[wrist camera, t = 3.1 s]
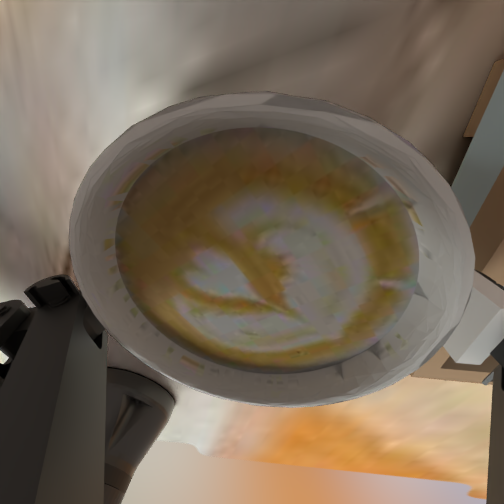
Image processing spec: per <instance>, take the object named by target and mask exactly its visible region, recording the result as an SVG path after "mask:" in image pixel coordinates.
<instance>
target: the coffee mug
mask: <svg viewBox="0 0 504 504" xmlns="http://www.w3.org/2000/svg"><path fill="white" fill-rule="evenodd" d="M69 249H70V255H71V260H72V265H73V271H74V274H75V277H76V279H77V282H78V285H79V287H80V290H81V292H82V295H83V297H84V299H85V300H86V302H87V303H88V305H89V307H90V308H91V310H92V312H93V313H94V315H95V316H96V318H97V319H98V320H99V321H100V323H101V324H102V325H103V326H104V328H105V329H106V330H107V331H108V333H109V334H110V335H111V336H112V337H113V338H114V339H115V340H116V341H117V342H118V343H119V344H120V345H121V346H123V347H124V348H125V349H126V350H128V351H129V352H130V353H131V354H133V355H134V356H135V357H137V358H138V359H139V360H140V361H142V362H143V363H144V364H146V365H147V366H149V367H150V368H152V369H154V370H155V371H157V372H159V373H160V374H162V375H164V376H166V377H167V378H169V379H171V380H173V381H175V382H178V383H180V384H182V385H185V386H187V387H189V388H191V389H194V390H196V391H199V392H202V393H205V394H208V395H211V396H214V397H218V398H221V399H226V400H231V401H235V402H240V403H245V404H250V405H256V406H270V407H290V408H294V407H313V406H321V405H328V404H334V403H339V402H343V401H348V400H352V399H356V398H359V397H362V396H365V395H368V394H371V393H373V392H376V391H379V390H381V389H383V388H386V387H388V386H390V385H393V384H394V383H396V382H398V381H399V380H401V379H403V378H404V377H406V376H408V375H409V374H411V373H413V372H414V371H416V370H418V369H419V368H420V367H421V366H423V365H424V364H425V363H426V362H427V361H429V360H430V359H431V358H432V357H433V356H434V355H435V354H436V352H437V351H438V350H439V349H440V348H441V347H442V346H443V345H444V344H445V343H446V341H447V340H448V339H449V337H450V336H451V334H452V333H453V331H454V330H455V329H456V327H457V326H458V324H459V323H460V321H461V318H462V316H463V314H464V311H465V309H466V307H467V305H468V302H469V300H470V295H471V291H472V287H473V279H474V268H475V253H474V248H473V243H472V238H471V233H470V228H469V226H468V223H467V220H466V217H465V214H464V211H463V209H462V206H461V203H460V202H459V200H458V198H457V197H456V195H455V193H454V192H453V190H452V188H451V187H450V185H449V184H448V183H447V181H446V180H445V179H444V178H443V177H442V175H441V174H440V173H439V172H438V170H437V169H436V168H435V167H434V166H433V164H432V163H431V162H430V161H429V160H428V159H427V158H426V157H425V156H423V155H422V154H421V153H420V152H419V151H418V150H417V149H416V148H415V147H414V146H413V145H412V144H411V143H410V142H409V141H407V140H405V139H404V138H402V137H400V136H399V135H397V134H396V133H394V132H392V131H391V130H389V129H387V128H386V127H384V126H383V125H381V124H379V123H378V122H376V121H374V120H373V119H371V118H370V117H367V116H364V115H362V114H359V113H357V112H354V111H352V110H349V109H346V108H344V107H341V106H339V105H336V104H334V103H331V102H328V101H326V100H319V99H312V98H305V97H298V96H292V95H286V94H280V93H275V92H269V91H262V92H240V93H231V94H222V95H213V96H204V97H198V98H195V99H192V100H188V101H185V102H182V103H179V104H176V105H172V106H169V107H167V108H165V109H163V110H161V111H159V112H158V113H156V114H154V115H152V116H150V117H148V118H146V119H144V120H142V121H140V122H138V123H136V124H134V125H132V126H131V127H130V128H129V129H127V130H126V131H125V132H124V133H123V134H122V135H121V136H120V137H118V138H117V139H116V140H115V141H114V142H113V143H112V144H111V145H109V146H108V147H107V148H106V149H105V150H104V151H103V152H102V153H101V155H100V156H99V157H98V158H97V159H96V160H95V162H94V163H93V164H92V165H91V166H90V168H89V170H88V172H87V174H86V175H85V177H84V179H83V181H82V183H81V185H80V187H79V189H78V191H77V194H76V196H75V198H74V203H73V208H72V213H71V218H70V226H69Z"/></svg>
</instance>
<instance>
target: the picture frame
mask: <svg viewBox="0 0 504 504" xmlns="http://www.w3.org/2000/svg"><path fill="white" fill-rule="evenodd" d="M463 137H473V139H472V142H471V144H470V146H469V148H468V151H467V153H466V155H465V157H464V159H463V162H462V164H461V166H460V168H459V171H458V173H457V175H456V177H455V180H454V182H453V184H452V186H451V188H452V190H453V192H454V193H455V195H456V197H457V198H458V200H459V202H460V203H461V206H462V209H463V211H464V214H465V217H466V220H467V223H468V226H469V228H470V233H471V238H472V243H473V248H474V253H475V268H474V269H475V270H477V271H479V272H482V273H484V274H485V275H487V276H488V277H490V278H491V279H493V280H494V281H496V283H497V284H500V285H502V286H503V287H504V59H501V60H499V61H496V62H494V64H493V67H492V69H491V71H490V74H489V76H488V78H487V81H486V83H485V86H484V88H483V90H482V93H481V95H480V97H479V100H478V102H477V104H476V107H475V109H474V111H473V114H472V116H471V119H470V121H469V123H468V126H467V128H466V130H465V133H464V135H463ZM498 365H499V363H498V362H497V361H496V360H495V359H494V358H493V357H492V355H491V354H490V355H489V356H488V357H487V358H486V359H485V360H484V361H483V363H482V364H481V365H475V364H464V363H456V362H455V361H454V360H453V359H452V357H451V356H450V355H449V353H448V352H447V351H446V350H445V348H444V347H443V346H442V347H441V348H440V349H439V350H438V351H437V352H436V354H435V355H434V356H433V357H432V358H431V359H430V360H429V361H427V362H426V363H425V364H424V365H423V366H421V367H420V368H419V369H418V370H416V371H414V372H413V373H411V374H410V375H411V377H418V378H429V379H439V380H450V381H460V382H471V383H481V384H482V381H483V380H484V378H485V377H486V376H488V375H489V374H490V373H491V372H492V371H493V370H494V369H495V368H496V367H497V366H498ZM488 384H492V385H493V382H489V383H488Z"/></svg>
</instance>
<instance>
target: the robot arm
mask: <svg viewBox="0 0 504 504" xmlns="http://www.w3.org/2000/svg"><path fill="white" fill-rule="evenodd" d="M24 293H25V294H26V295H27V297H28V298H29V299H30V300H31V301H32V302H33V304H34V305H35V306H36V307H34V308H27V307H26V305H25V304H24V303H23V302H22V301H21V300H11V301H7V302H2V303H0V350H1V351H2V352H3V353H4V354H5V355H7V356H8V357H9V359H8V360H7V361H6V362H5V363H4V364H1V363H0V504H121V502H122V500H123V497H124V495H125V493H126V490H127V488H128V486H129V483H130V481H131V479H132V477H133V475H134V472H135V470H136V469H137V467H138V465H139V464H140V462H141V461H142V459H143V458H144V456H145V455H146V453H147V452H148V451H149V449H150V448H151V446H152V445H153V443H154V442H155V441H156V439H157V438H158V436H159V435H160V433H161V432H162V430H163V429H164V427H165V426H166V425H167V423H168V421H169V419H170V416H171V414H172V411H173V409H174V406H175V403H174V400H173V398H172V397H171V395H170V394H169V393H168V392H167V391H166V390H165V389H163V388H162V387H161V386H159V385H158V384H156V383H154V382H153V381H151V380H149V379H147V378H145V377H142V376H140V375H137V374H134V373H131V372H128V371H124V370H119V369H112V368H107V336H108V335H107V333H106V331H105V328H104V326H103V325H102V324H101V323H100V321H99V320H98V319H97V318H96V316H95V315H94V313H93V312H92V310H91V308H90V307H89V305H88V303H87V302H86V300H85V299H84V297H83V295H82V292H81V290H80V291H79V290H78V289H77V287H76V286H75V284H74V283H73V281H72V280H71V278H70V277H69V276H68V275H57V276H52V277H49V278H46V279H43V280H41V281H39V282H37V283H35V284H33V285H32V286H30V287H29V288H27V289H26V290H25V291H24ZM443 347H444V348H445V350H446V351H447V352H448V353H449V355H450V356H451V357H452V359H453V360H454V361H455V362H456V363H464V364H475V365H481V364H482V363H483V361H484V360H485V359H486V358H487V357H488V356H489V355H490V354H491V355H492V357H493V358H494V359H495V360H496V361H497V362H498V363H499V365H498V366H497V367H496V368H495V369H494V370H493V371H492V372H491V373H490V374H489V375H488V376H486V377H485V378H484V380H483V381H482V384H484V385H487V384H488V383H489V382H493V392H492V410H491V428H490V447H489V465H488V483H487V503H486V504H504V287H503V286H502V285H500V284H497V283H496V281H494V280H493V279H491V278H490V277H488V276H487V275H485V274H484V273H482V272H479V271H477V270H475V269H474V279H473V287H472V291H471V295H470V300H469V302H468V305H467V307H466V309H465V311H464V314H463V316H462V318H461V321H460V323H459V324H458V326H457V327H456V329H455V330H454V331H453V333H452V334H451V336H450V337H449V339H448V340H447V341H446V343H445V344H444V345H443Z"/></svg>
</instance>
